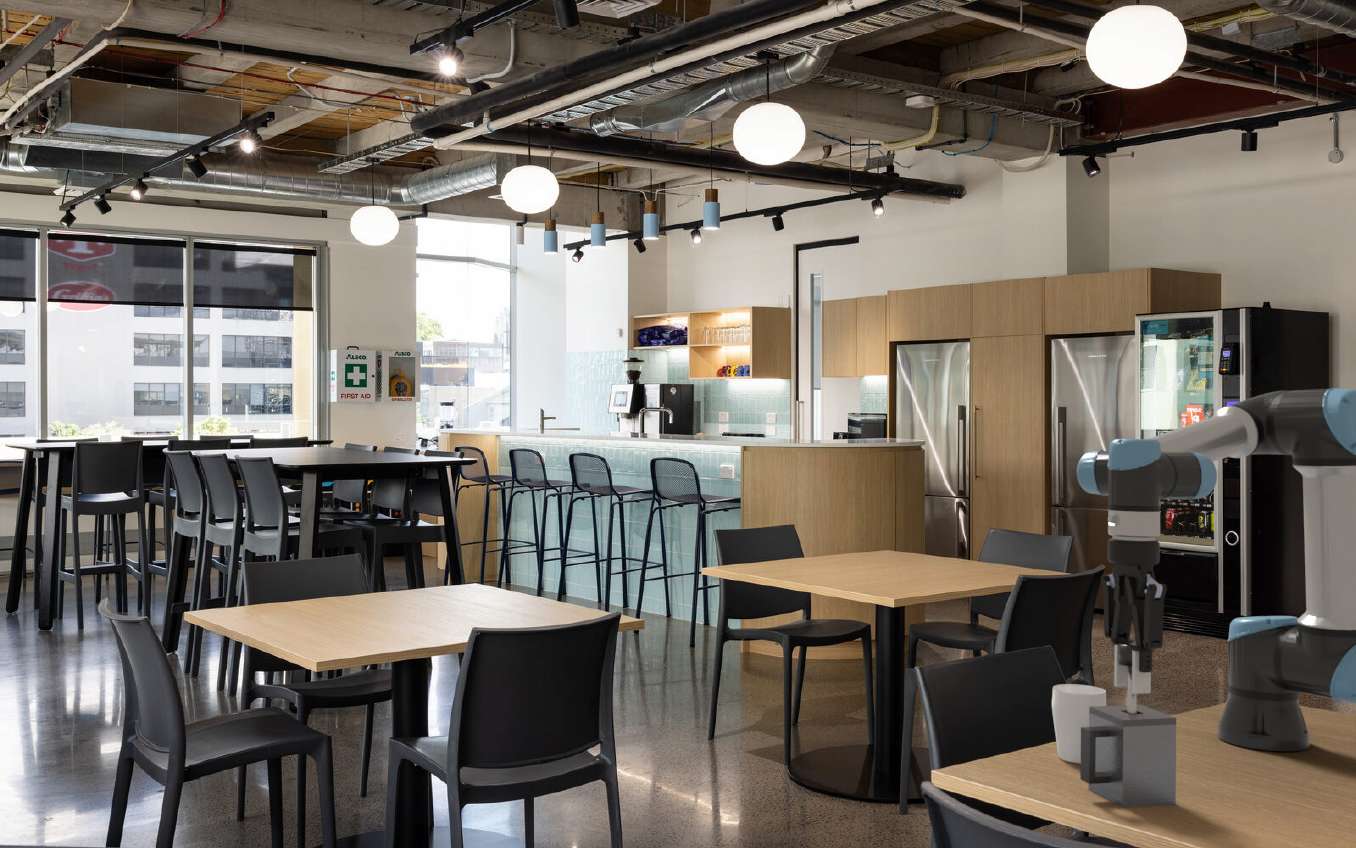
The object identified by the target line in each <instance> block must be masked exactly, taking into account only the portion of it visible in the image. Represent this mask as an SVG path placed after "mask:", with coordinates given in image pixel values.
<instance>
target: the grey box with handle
mask: <svg viewBox="0 0 1356 848" xmlns="http://www.w3.org/2000/svg"><path fill="white" fill-rule="evenodd" d="M1080 780H1081V781H1082V782H1085V783H1086V784H1088V791H1091V792H1092V793H1095V794H1096V795H1098V796H1101V797H1102V798H1104V799H1106V800H1108V801H1109V802H1112V803H1113V804H1115V805H1117V806H1119V807H1121V808H1133V807H1134V808H1135V807H1150V806H1151V807H1152V806H1164V805H1166V806H1167V805H1176V802H1177V800H1176V798H1177V796H1176V795H1177V717H1175V716H1173V715H1170V714H1166V713H1164V712H1161V711H1159V710H1156V709H1152V708H1150V707H1148V706H1145V705H1141V704H1137V714H1127V704H1123V705H1122V704H1121V705H1107V706H1092V707H1089V727H1081V764H1080Z"/></svg>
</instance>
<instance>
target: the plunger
mask: <svg viewBox="0 0 1356 848" xmlns="http://www.w3.org/2000/svg"><path fill="white" fill-rule="evenodd" d="M1132 647H1136V642H1133V643H1119V664H1120V665H1124V666H1127V687H1126V689H1127V691H1126V692H1127V693H1126V699H1127V700H1126V705H1127V714H1137V705H1138V694H1134V693H1132Z"/></svg>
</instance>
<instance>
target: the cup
mask: <svg viewBox="0 0 1356 848" xmlns="http://www.w3.org/2000/svg"><path fill="white" fill-rule="evenodd" d="M1092 706H1108V704H1107V692H1106V689H1104V688H1102V687H1098V686H1092V685H1089V684H1088V685H1086V684H1078V683H1077V684H1076V683H1075V684H1074V683H1073V684H1072V683H1065V684H1064V683H1063V684H1056V685H1053V686H1052V697H1051V709H1052V710H1051V711H1052V718H1053V719H1052V720H1053V725H1054V733H1055V740H1056V748H1057V755H1058V758H1059V759H1061V760H1062V761H1065V762H1067V763H1071V764H1079V765H1081V727H1089V707H1092Z"/></svg>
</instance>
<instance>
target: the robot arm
mask: <svg viewBox="0 0 1356 848" xmlns="http://www.w3.org/2000/svg"><path fill="white" fill-rule="evenodd" d="M1108 448H1109V449H1108V450H1104V449H1098V450H1095V451H1088V452H1086V453H1084V455H1082V457H1081V458H1080V459H1079V460H1078V463H1077V467H1076V476H1077V482H1078V484H1079V486H1080V487H1081V489H1082V490H1083V491H1084V492H1086V493H1088V494H1091V495H1092V494H1093V495H1100V496H1101V497H1108V498H1107V499H1108V505H1107V509H1108V512H1107V513H1108V515H1107V523H1108V524H1107V534H1108V535H1109V536H1112V537H1111V538H1109V539H1108V540H1107V554H1106V555H1107V561H1108V562H1109V563H1111V564H1113V568H1112V573H1110V574H1102V576H1101V578H1100V579H1101V584H1102V588H1103V624H1104V626H1103V628H1104V629H1103V631H1104V632H1103V633H1104V637H1105V638H1109V639H1110V641H1111V643H1112V644H1113V664H1114V665H1113V667H1114V669H1113V670H1114V671H1113V674H1114V675H1113V678H1114V679H1113V687H1114V688H1127V666H1124V665H1120V664H1119V643H1136V647H1132V693H1134V694H1137V695H1138V694H1140V695H1141V694H1151V692H1152V689H1151V688H1152V684H1151V683H1152V674H1151V673H1152V671H1153V651H1155V650H1158V649H1162V648H1163V645H1164V644H1163V642H1164V641H1163V640H1164V638H1163V637H1164V611H1165V610H1164V609H1165V597H1166V594H1167V590H1168V586H1167V584H1166V583H1159V582H1157V580H1156V576H1155V574H1154V570H1153V569H1154V566H1156V565H1158V564H1159V563H1160V558H1161V557H1160V556H1161V555H1160V554H1161V553H1160V547H1161V546H1160V544H1161V542H1159V541H1158V540H1157V539H1156V538H1159V537H1160V536H1161V500H1188V501H1193V500H1196V499H1203V498H1205V497H1207V496H1208V495H1210V494H1211V493H1212V492H1213V490H1214V488H1215V487H1216V485H1217V480H1218V479H1217V478H1218V473H1217V472H1218V471H1217V468H1216V465H1215V464H1214V463H1215V462H1216V461H1220V460H1223V459H1225V458H1233V459H1241V458H1242V459H1243V458H1245V457H1247V456H1251V455H1282V456H1283V455H1285V456H1292V467H1293V468H1294V469H1295V470H1296V471H1297V472H1298V473H1299V474H1301V476H1302V491H1303V493H1302V494H1303V495H1302V496H1303V527H1304V528H1303V529H1304V531H1303V532H1304V534H1303V535H1304V564H1305V566H1304V567H1305V605H1306V606H1305V607H1306V610H1305V612H1304V613H1302V614H1301V615H1300V616H1299V617H1297V616H1292V615H1266V616H1265V615H1260V616H1259V615H1258V616H1255V615H1254V616H1243V617H1236V618H1234V619H1232V621H1231V622H1230V623H1229V630H1228V631H1229V632H1228V639H1227V643H1228V645H1227V646H1228V647H1227V649H1228V650H1227V651H1228V652H1227V653H1228V691H1227V692H1228V696H1227V699H1226V702H1225V704H1224V708H1223V710H1222V714H1221V717H1220V720H1219V721H1218V723H1217V737H1218V738H1219V739H1220V740H1222V741H1223V742H1226V743H1228V744H1232V745H1235V746H1239V747H1244V748H1249V749H1255V750H1262V751H1271V752H1299V751H1301V752H1302V751H1305V750H1308V749H1309V748H1310V732H1309V730H1308V729H1307V725H1306V721H1305V717H1304V714H1303V711H1302V708H1301V706H1300V701H1299V700H1300V699H1299V697H1300V695H1299V694H1300V693H1301V694H1307V695H1312V696H1316V697H1320V698H1324V699H1328V700H1329V699H1330V700H1334V701H1335V702H1338V703H1342V702H1344V703H1345V702H1346V703H1350V704H1351V703H1352V704H1356V389H1355V388H1337V387H1333V388H1323V389H1322V388H1321V389H1319V388H1317V389H1301V390H1298V389H1296V390H1277V391H1276V390H1275V391H1272V392H1268V393H1264V394H1263V393H1262V394H1260V395H1257V396H1254V397H1251V398H1248V399H1244V400H1242V401H1239V402H1235V403H1233V404H1231V405H1227V406H1224V407H1221V408H1219V409H1217V410H1216V412H1214V414H1213V415H1212V417H1208V418H1206V419H1203V420H1200V421H1198V422H1194V423H1191V424H1189V425H1184V426H1182V427H1179V428H1175V429H1173V430H1170V431H1167V432H1164V433H1161V434H1159V435H1158V434H1157V435H1155V436H1152V437H1149V438H1116V439H1113V440H1112V441H1111V442H1110V443H1109V447H1108ZM1132 623H1133V630H1134V632H1133V633H1134V640H1135V642H1134V640H1133V639H1131V638H1130V637H1131V636H1130V635H1131V631H1132V630H1131V628H1132Z"/></svg>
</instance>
